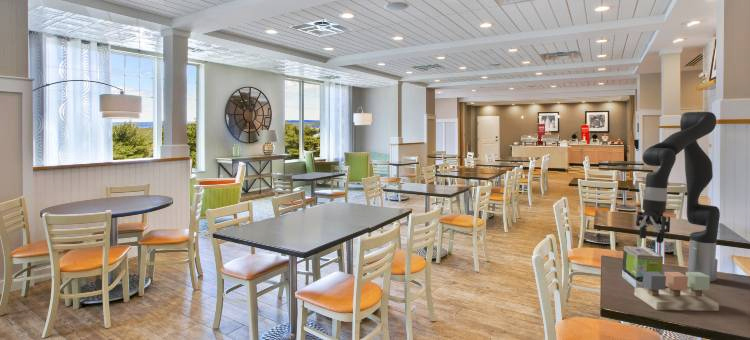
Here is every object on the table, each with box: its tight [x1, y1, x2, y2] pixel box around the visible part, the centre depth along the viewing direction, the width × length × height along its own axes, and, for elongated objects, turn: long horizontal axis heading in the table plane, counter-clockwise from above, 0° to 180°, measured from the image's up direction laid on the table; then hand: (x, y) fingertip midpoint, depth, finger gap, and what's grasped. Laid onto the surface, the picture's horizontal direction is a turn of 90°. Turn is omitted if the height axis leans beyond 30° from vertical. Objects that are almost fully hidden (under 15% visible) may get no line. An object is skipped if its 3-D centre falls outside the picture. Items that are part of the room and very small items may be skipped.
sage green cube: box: [685, 271, 711, 291], centre depth 156 cm, size 5×5×5 cm
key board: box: [634, 287, 720, 312], centre depth 157 cm, size 22×14×7 cm, turn 87°
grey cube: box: [643, 272, 666, 290], centre depth 157 cm, size 5×5×5 cm
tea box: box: [621, 245, 664, 289], centre depth 176 cm, size 15×10×15 cm, turn 168°
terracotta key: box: [663, 271, 688, 290], centre depth 156 cm, size 5×5×5 cm
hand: (650, 240), depth 160 cm, fingers open, 8 cm apart
